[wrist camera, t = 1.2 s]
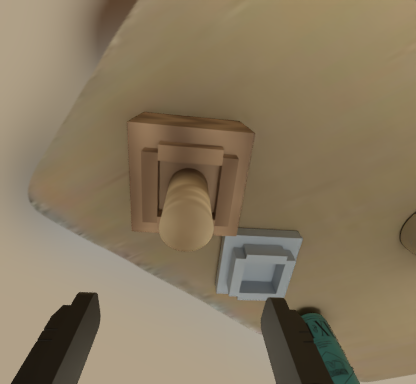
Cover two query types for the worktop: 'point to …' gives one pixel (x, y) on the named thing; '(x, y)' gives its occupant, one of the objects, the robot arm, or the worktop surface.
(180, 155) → the walnut dock
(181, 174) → the birch peg
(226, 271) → the slate dock
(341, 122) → the worktop surface
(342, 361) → the beverage bottle
